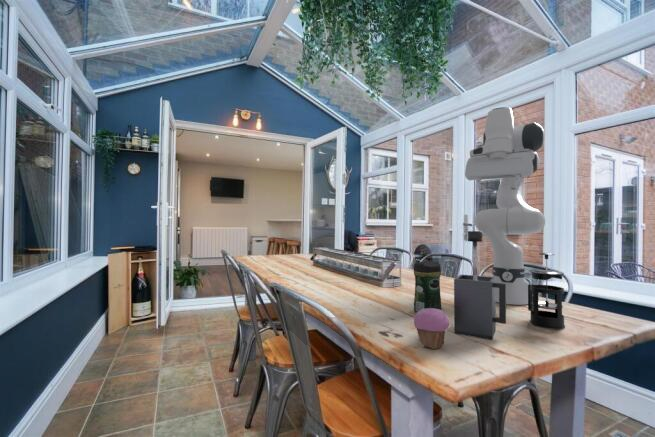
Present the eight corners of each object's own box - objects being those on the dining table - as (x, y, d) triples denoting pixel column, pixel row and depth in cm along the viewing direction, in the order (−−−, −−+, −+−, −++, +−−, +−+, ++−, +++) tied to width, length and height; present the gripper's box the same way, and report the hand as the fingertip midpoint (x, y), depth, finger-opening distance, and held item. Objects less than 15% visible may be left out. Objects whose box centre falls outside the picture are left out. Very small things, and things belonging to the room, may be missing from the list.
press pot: (460, 324, 102) (460, 274, 102) (507, 332, 95) (506, 278, 95) (454, 333, 94) (454, 278, 94) (504, 342, 87) (504, 283, 87)
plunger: (463, 282, 101) (463, 230, 101) (490, 285, 97) (490, 231, 97) (459, 286, 94) (459, 231, 95) (487, 289, 90) (487, 231, 91)
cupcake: (454, 346, 84) (454, 308, 84) (441, 356, 77) (441, 314, 78) (422, 338, 90) (422, 302, 90) (407, 346, 83) (407, 308, 83)
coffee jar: (429, 308, 122) (429, 259, 123) (445, 313, 115) (445, 261, 116) (409, 310, 118) (409, 260, 118) (424, 316, 111) (424, 263, 111)
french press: (575, 328, 99) (574, 254, 99) (550, 331, 96) (549, 254, 97) (541, 317, 110) (540, 251, 110) (518, 319, 108) (518, 251, 108)
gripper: (534, 151, 106) (534, 191, 103) (468, 158, 117) (466, 194, 114) (534, 143, 101) (534, 185, 98) (465, 151, 112) (463, 188, 109)
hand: (497, 190), depth 106 cm, fingers open, 8 cm apart
